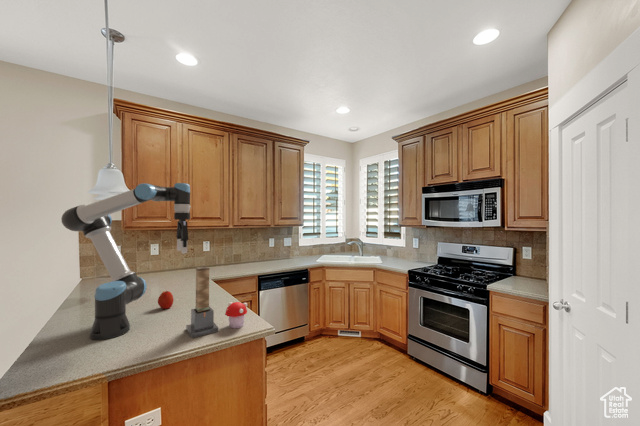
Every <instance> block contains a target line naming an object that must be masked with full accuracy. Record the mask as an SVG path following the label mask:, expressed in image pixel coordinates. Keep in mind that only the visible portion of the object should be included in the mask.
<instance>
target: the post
mask: <svg viewBox="0 0 640 426" xmlns="http://www.w3.org/2000/svg"><path fill="white" fill-rule="evenodd" d="M209 306H210V267H209V266H199V267H195V308H196V310H197V311H198V312H201V311H206V310H209ZM195 308H194V309H195Z"/></svg>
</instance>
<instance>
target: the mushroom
mask: <svg viewBox="0 0 640 426" xmlns="http://www.w3.org/2000/svg"><path fill="white" fill-rule="evenodd" d="M227 305H228V306H227V307H226V310H225V313H224V315H226V316H227V317H228V322H229V328H231V329H239V328H242V327H243V326H244V323H245V315H246V314H247V313H248V309H247V308H248V303H247V302H243V303H242V302H241V301H237V302H232V301H230V302H228V304H227Z"/></svg>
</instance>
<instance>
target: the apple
mask: <svg viewBox="0 0 640 426" xmlns="http://www.w3.org/2000/svg"><path fill="white" fill-rule="evenodd" d="M157 304H158V306H159V308H161V309H164V310H168V309H171V308H172V306H173V304H174V295H173V294H172V292H171V291H168V290H166V291H162V293H160V295H159V296H158V299H157Z"/></svg>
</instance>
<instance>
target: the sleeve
mask: <svg viewBox="0 0 640 426" xmlns="http://www.w3.org/2000/svg"><path fill="white" fill-rule="evenodd" d="M214 313H215V311H214V310H213V309H212V307H211V306H210V305H209V310H206V311H201V312H198V311H197V310H196V308H191V309H190V324H187V325H185V327H186V331H187V333H188V335H189V337H190V338H191V339H194V338H198V337H201V336H206V335H210V334H213V333H214V334H215V333H218V332H219V327H218V326H217V324H216V323H215V322H214V317H215V315H214Z"/></svg>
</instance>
